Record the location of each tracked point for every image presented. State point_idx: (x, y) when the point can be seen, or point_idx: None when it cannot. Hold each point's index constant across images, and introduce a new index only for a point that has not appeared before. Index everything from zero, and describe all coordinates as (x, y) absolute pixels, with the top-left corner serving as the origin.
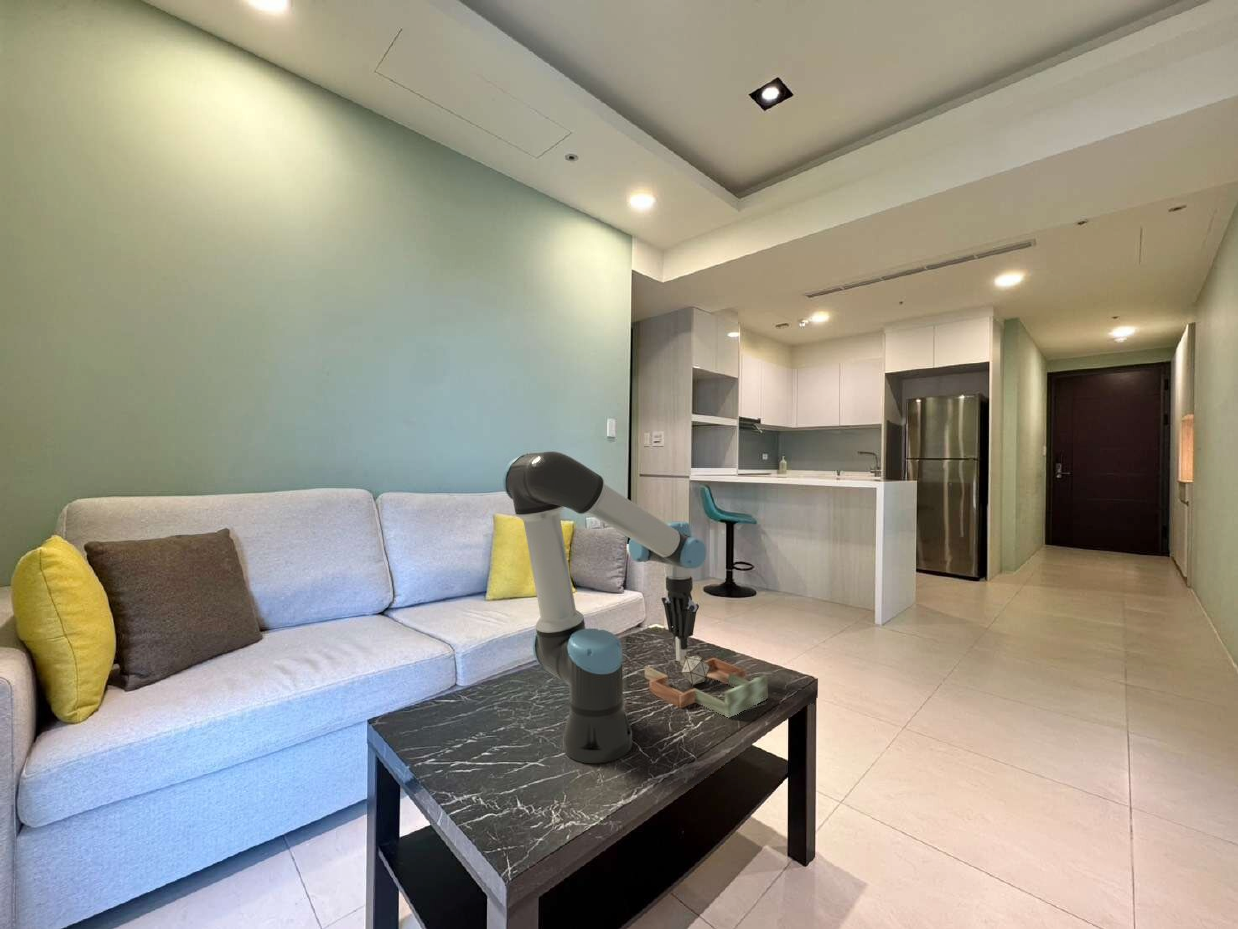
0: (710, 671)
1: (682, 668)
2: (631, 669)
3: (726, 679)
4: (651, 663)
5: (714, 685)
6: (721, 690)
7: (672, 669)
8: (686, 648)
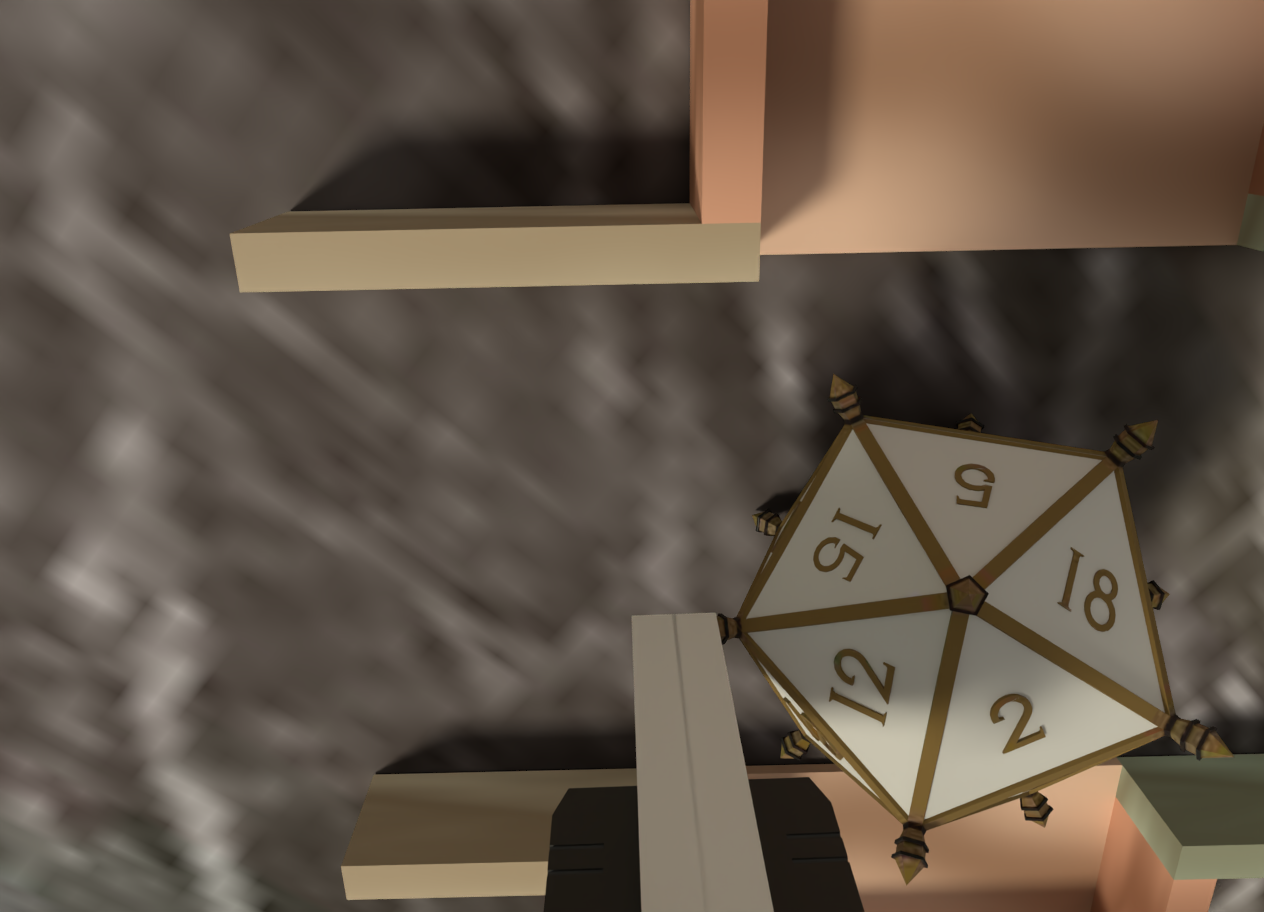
0: (786, 113)
1: (834, 762)
2: (94, 787)
3: (1127, 143)
4: (36, 523)
5: (1074, 377)
6: (1218, 412)
7: (362, 445)
8: (811, 794)
